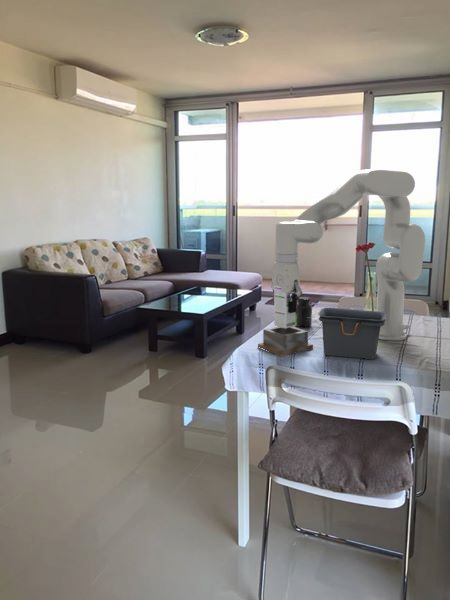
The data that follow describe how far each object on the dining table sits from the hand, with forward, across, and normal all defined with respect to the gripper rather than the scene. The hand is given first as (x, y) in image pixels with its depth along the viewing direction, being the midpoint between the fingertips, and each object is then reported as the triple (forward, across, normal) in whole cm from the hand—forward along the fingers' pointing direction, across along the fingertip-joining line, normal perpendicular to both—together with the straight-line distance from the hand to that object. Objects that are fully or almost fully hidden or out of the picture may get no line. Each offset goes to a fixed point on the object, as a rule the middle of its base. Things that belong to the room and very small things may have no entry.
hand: (285, 310), depth 172 cm
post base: (+14, 0, 0) cm, 14 cm away
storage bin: (+14, +18, +13) cm, 26 cm away
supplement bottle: (+14, -20, +25) cm, 35 cm away
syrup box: (+6, 0, 0) cm, 6 cm away
